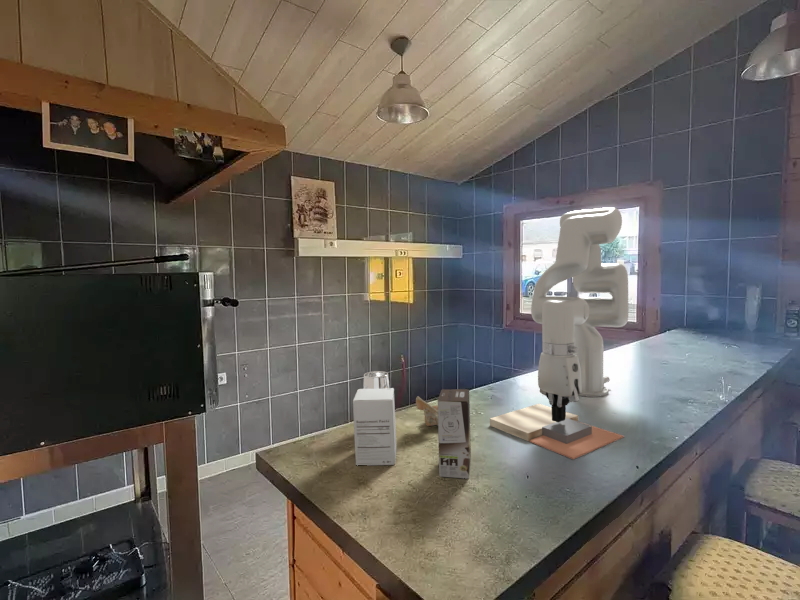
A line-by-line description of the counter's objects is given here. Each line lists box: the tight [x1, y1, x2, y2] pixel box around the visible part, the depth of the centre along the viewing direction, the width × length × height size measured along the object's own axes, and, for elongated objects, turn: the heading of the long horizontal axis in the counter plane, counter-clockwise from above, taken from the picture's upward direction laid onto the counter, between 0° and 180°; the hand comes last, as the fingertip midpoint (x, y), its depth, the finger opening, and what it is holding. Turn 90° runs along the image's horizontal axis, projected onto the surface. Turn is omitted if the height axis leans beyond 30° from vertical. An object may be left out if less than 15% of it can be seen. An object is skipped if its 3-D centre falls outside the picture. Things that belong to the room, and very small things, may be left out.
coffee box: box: [437, 388, 472, 480], centre depth 90 cm, size 9×6×16 cm
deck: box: [489, 403, 579, 442], centre depth 114 cm, size 20×13×2 cm, turn 123°
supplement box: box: [352, 387, 397, 467], centre depth 97 cm, size 9×9×15 cm
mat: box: [529, 421, 625, 460], centre depth 103 cm, size 20×12×1 cm, turn 123°
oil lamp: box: [415, 395, 438, 427], centre depth 118 cm, size 9×21×10 cm, turn 138°
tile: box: [542, 418, 593, 444], centre depth 106 cm, size 10×7×2 cm
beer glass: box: [363, 370, 390, 389], centre depth 114 cm, size 7×7×15 cm
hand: (558, 420), depth 107 cm, fingers closed
